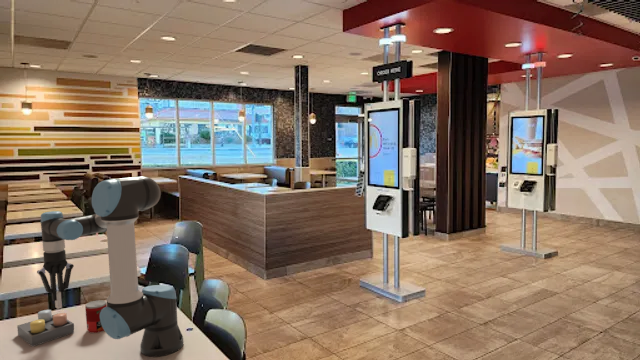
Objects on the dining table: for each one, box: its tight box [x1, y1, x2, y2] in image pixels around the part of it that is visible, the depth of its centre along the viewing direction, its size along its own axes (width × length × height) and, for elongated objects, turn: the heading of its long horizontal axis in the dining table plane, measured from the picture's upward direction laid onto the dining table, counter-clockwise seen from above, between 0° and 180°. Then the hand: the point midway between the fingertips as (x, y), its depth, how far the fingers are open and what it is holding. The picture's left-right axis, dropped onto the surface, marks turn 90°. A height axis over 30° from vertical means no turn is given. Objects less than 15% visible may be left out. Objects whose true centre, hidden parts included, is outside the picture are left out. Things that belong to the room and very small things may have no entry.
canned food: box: [85, 299, 107, 334], centre depth 182 cm, size 8×8×11 cm
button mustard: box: [30, 319, 45, 333], centre depth 173 cm, size 5×5×4 cm
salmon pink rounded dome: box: [53, 312, 68, 326], centre depth 179 cm, size 5×5×4 cm
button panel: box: [16, 313, 75, 347], centre depth 179 cm, size 16×15×4 cm
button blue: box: [37, 309, 52, 322], centre depth 183 cm, size 5×5×4 cm
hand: (58, 307), depth 179 cm, fingers closed
